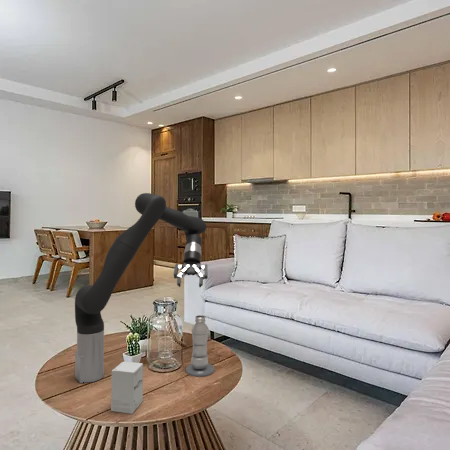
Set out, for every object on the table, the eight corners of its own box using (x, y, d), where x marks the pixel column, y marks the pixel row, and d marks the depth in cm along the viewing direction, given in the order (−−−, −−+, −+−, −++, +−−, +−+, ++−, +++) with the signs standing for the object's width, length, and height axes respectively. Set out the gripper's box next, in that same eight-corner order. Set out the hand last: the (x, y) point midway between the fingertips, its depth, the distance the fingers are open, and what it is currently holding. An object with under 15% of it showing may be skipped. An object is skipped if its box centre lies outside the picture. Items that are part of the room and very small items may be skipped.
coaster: (196, 379, 129) (196, 377, 129) (180, 369, 138) (180, 367, 138) (220, 371, 137) (220, 369, 137) (203, 361, 145) (203, 360, 145)
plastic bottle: (188, 366, 139) (189, 315, 138) (204, 363, 142) (205, 313, 141) (193, 372, 133) (194, 319, 133) (210, 369, 136) (211, 318, 135)
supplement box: (133, 414, 106) (133, 372, 106) (110, 411, 108) (110, 370, 107) (143, 401, 114) (143, 362, 113) (122, 399, 115) (122, 360, 115)
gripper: (175, 249, 155) (171, 280, 143) (208, 250, 155) (206, 281, 143) (177, 260, 160) (173, 290, 149) (208, 260, 160) (207, 291, 149)
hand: (189, 286), depth 146 cm, fingers open, 8 cm apart
